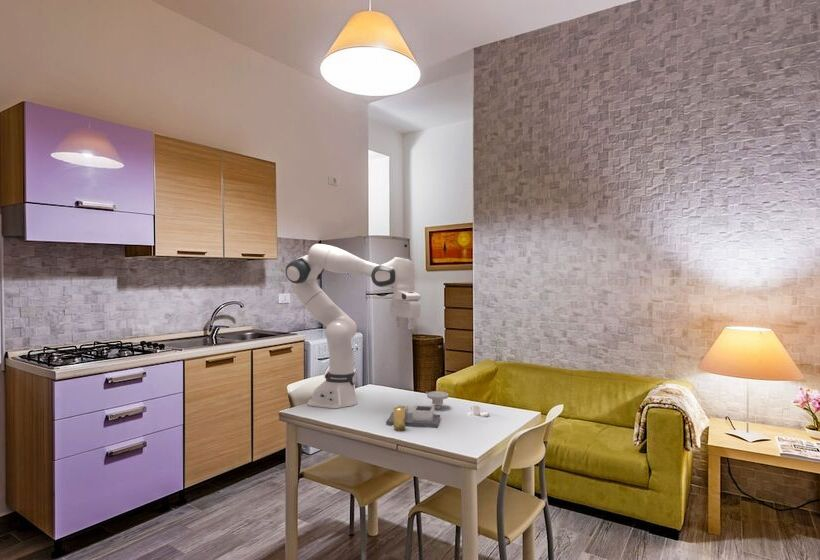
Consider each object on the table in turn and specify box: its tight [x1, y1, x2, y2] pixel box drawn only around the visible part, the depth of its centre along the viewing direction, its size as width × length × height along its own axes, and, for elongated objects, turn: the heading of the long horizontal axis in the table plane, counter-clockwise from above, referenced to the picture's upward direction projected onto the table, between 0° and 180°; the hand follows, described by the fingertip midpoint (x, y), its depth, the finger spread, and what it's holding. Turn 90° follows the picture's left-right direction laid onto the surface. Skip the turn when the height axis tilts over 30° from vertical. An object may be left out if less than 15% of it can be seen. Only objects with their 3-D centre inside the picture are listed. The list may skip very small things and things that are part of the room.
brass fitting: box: [392, 406, 406, 432], centre depth 174 cm, size 4×4×8 cm
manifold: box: [385, 404, 441, 429], centre depth 184 cm, size 20×12×6 cm, turn 80°
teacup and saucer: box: [467, 404, 490, 419], centre depth 193 cm, size 9×8×4 cm
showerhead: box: [425, 390, 449, 410], centre depth 203 cm, size 9×7×10 cm
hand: (404, 328), depth 192 cm, fingers open, 8 cm apart
